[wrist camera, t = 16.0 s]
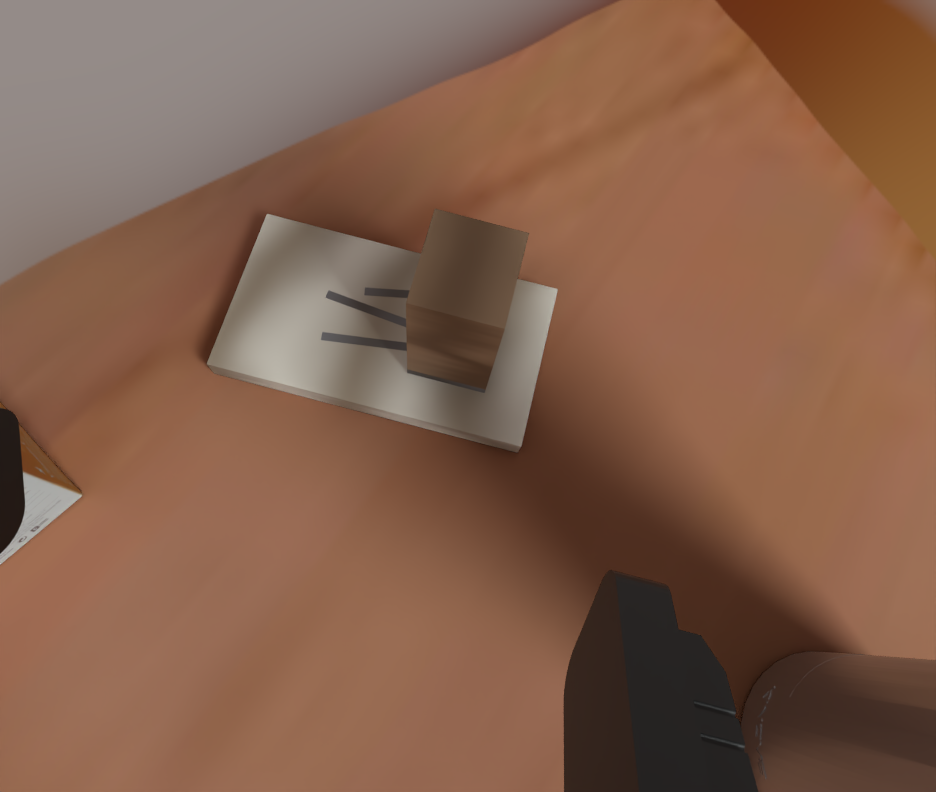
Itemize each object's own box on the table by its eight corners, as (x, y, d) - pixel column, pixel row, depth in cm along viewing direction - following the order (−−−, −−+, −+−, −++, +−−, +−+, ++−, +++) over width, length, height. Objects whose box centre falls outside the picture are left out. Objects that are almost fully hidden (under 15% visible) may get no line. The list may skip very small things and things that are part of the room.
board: (552, 300, 43) (557, 289, 41) (517, 452, 39) (521, 446, 38) (271, 227, 43) (267, 213, 41) (214, 373, 40) (206, 363, 38)
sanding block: (504, 315, 40) (529, 233, 32) (484, 393, 39) (504, 328, 30) (430, 295, 40) (434, 208, 32) (407, 372, 39) (405, 302, 30)
